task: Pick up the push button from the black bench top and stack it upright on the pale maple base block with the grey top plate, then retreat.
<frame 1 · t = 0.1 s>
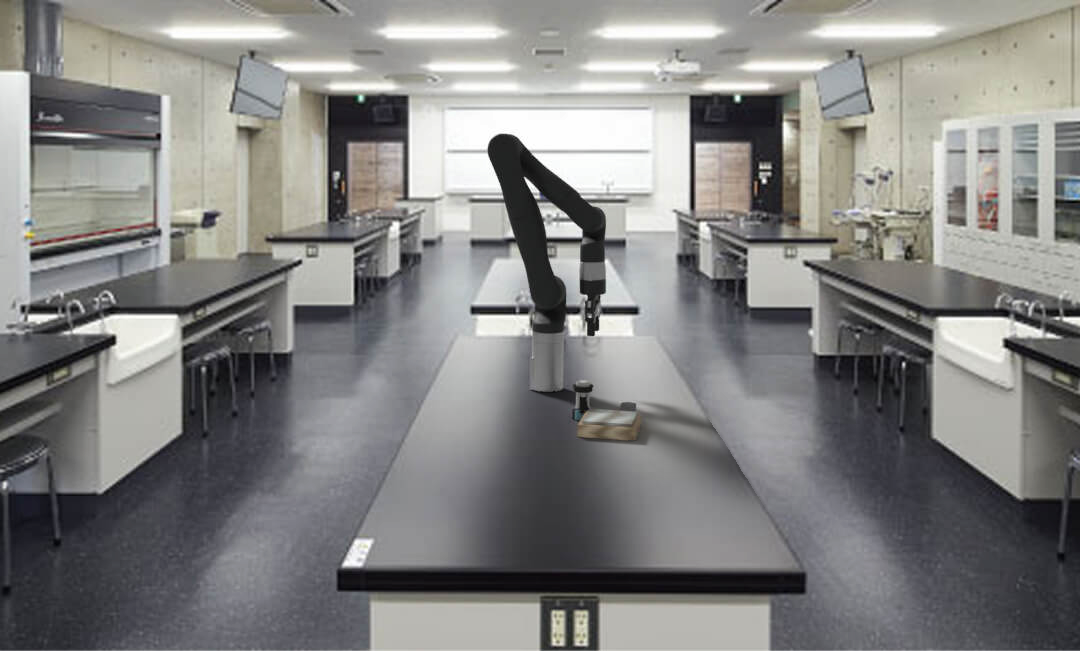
hand: (593, 333, 276), 17 cm above the table, tool pointing down, fingers open, 8 cm apart
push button: (584, 419, 249), on the table
rubber stopper: (628, 418, 250), on the table
base block: (609, 431, 238), on the table
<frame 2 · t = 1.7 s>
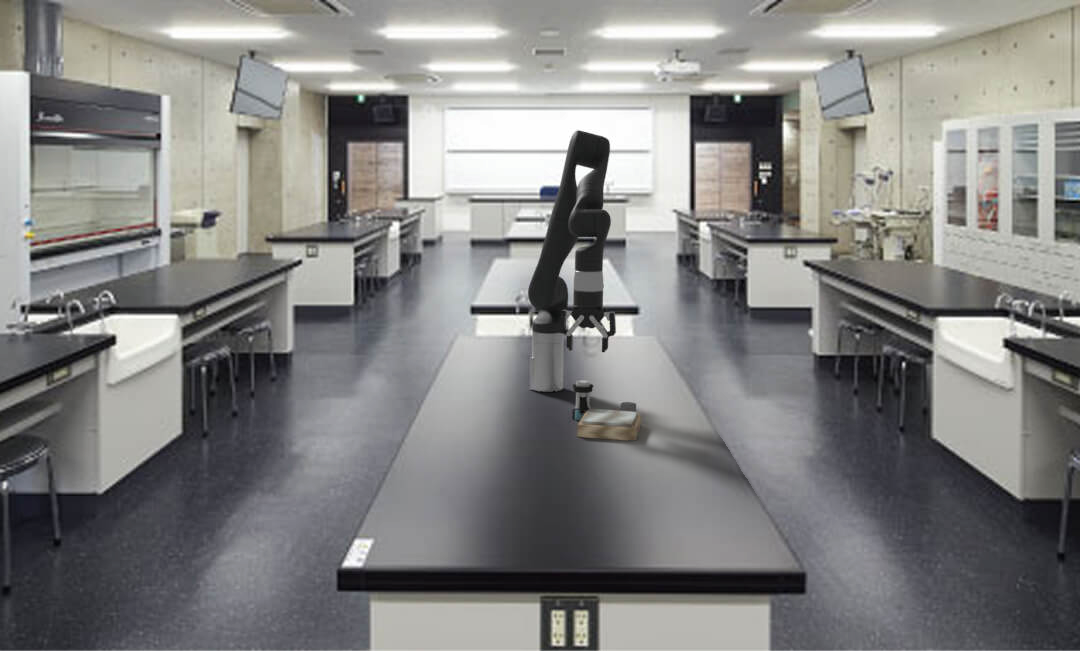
hand: (587, 351, 247), 18 cm above the table, tool pointing down, fingers open, 8 cm apart
nothing on the table moved.
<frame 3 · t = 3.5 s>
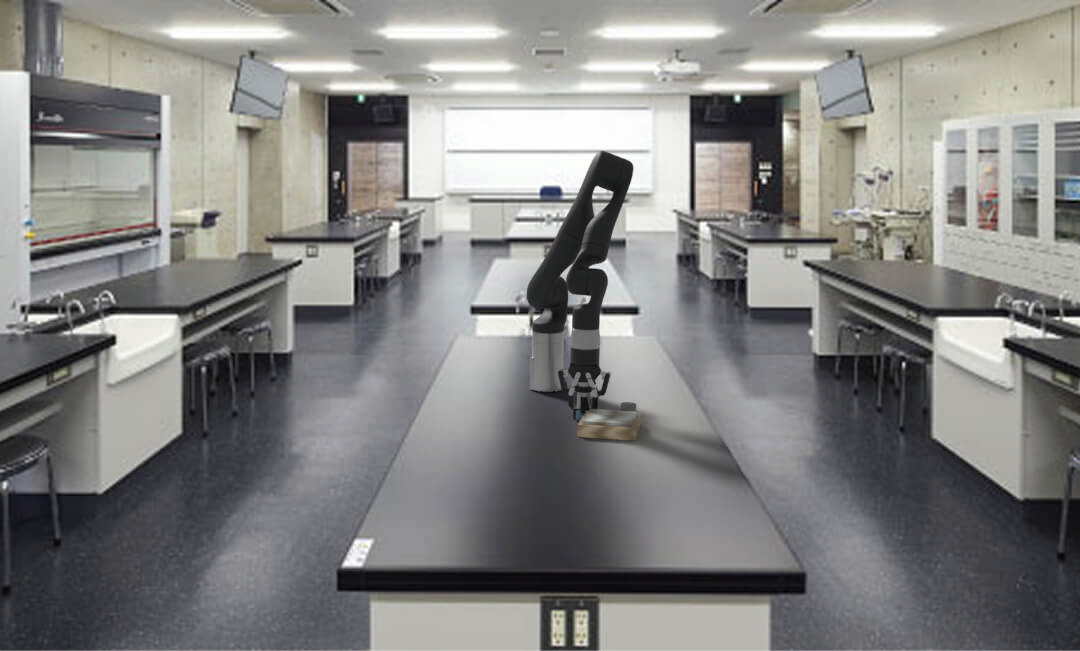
hand: (583, 409, 249), 2 cm above the table, tool pointing down, fingers closed on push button, 5 cm apart
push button: (585, 419, 249), on the table, touching gripper
everything else where it was.
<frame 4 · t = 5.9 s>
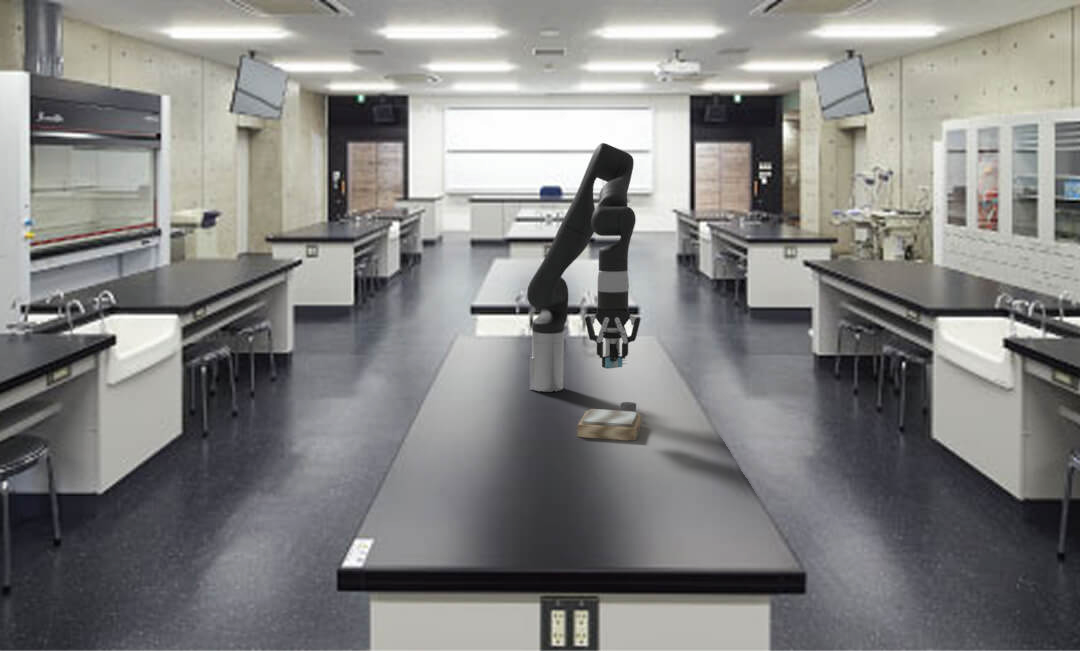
hand: (612, 357, 236), 18 cm above the table, tool pointing down, fingers closed on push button, 5 cm apart
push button: (614, 367, 237), point 16 cm above the table, touching gripper
everything else where it was.
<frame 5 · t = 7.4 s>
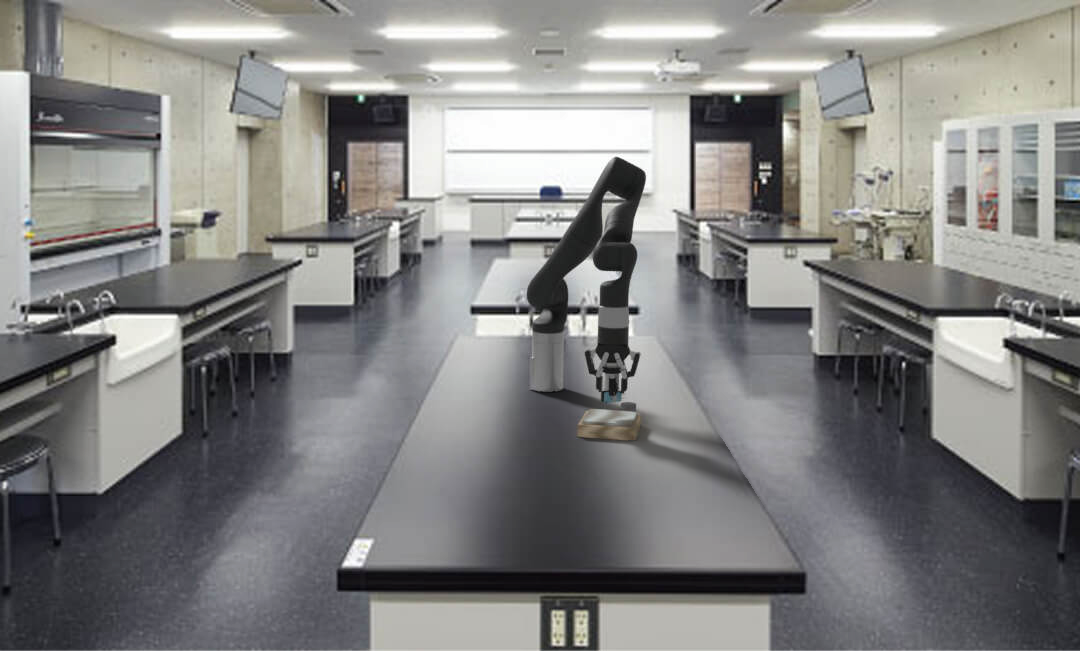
hand: (611, 391, 237), 10 cm above the table, tool pointing down, fingers closed on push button, 5 cm apart
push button: (613, 402, 237), point 7 cm above the table, touching gripper
everything else where it was.
when the fingers open (7 cm above the table, at t = 8.4 s): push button drops 1 cm, resting on base block.
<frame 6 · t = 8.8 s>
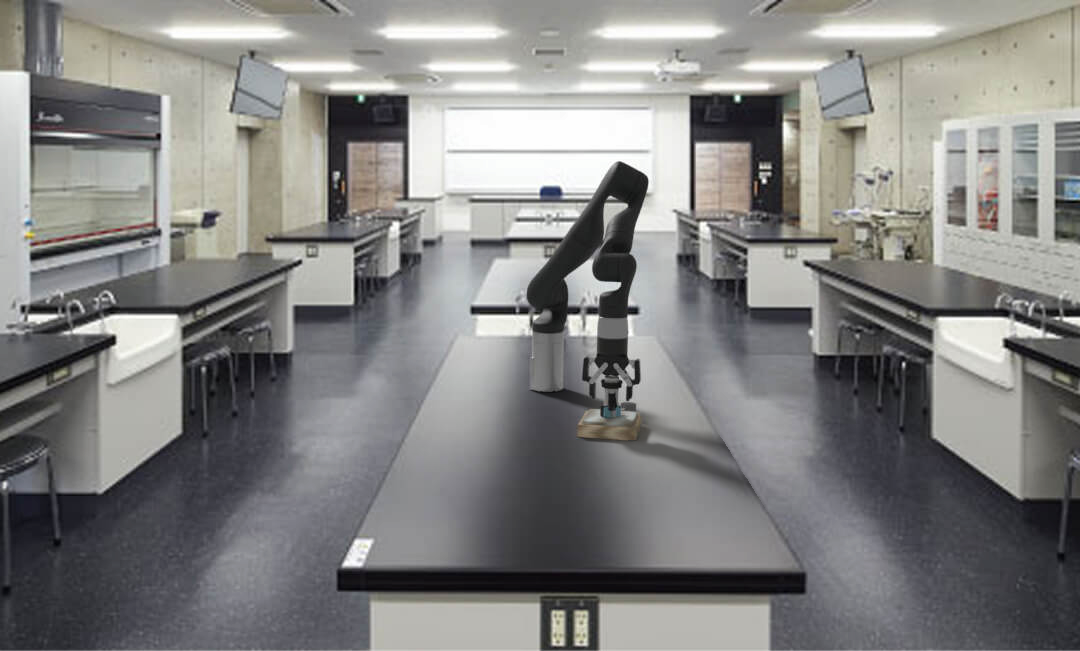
hand: (610, 399, 237), 8 cm above the table, tool pointing down, fingers open, 8 cm apart
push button: (613, 417, 238), point 4 cm above the table, touching base block
everything else where it was.
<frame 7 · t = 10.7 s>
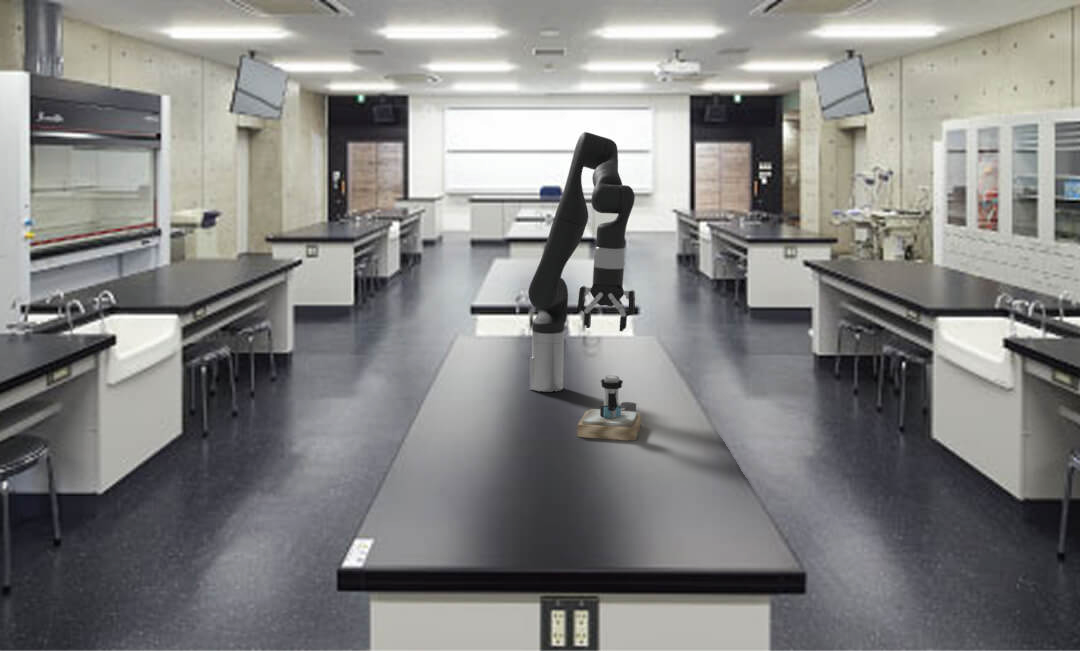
hand: (604, 329, 242), 24 cm above the table, tool pointing down, fingers open, 8 cm apart
nothing on the table moved.
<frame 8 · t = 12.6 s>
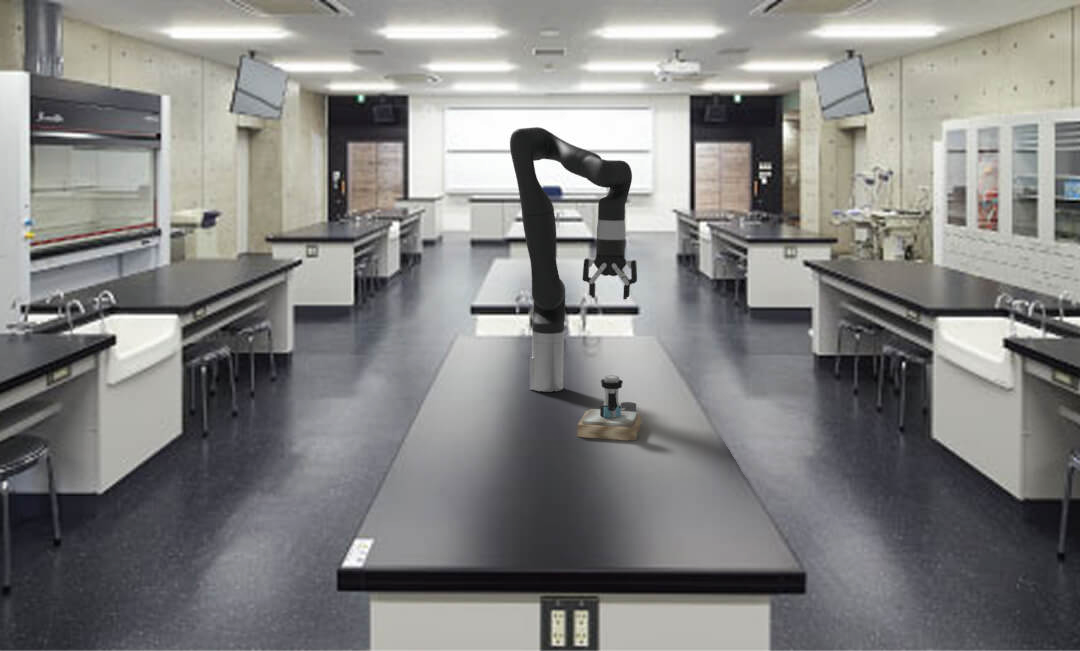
hand: (609, 298, 255), 30 cm above the table, tool pointing down, fingers open, 8 cm apart
nothing on the table moved.
at the end: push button inside the target area on the base block (0.7 cm from its centre), point 3.6 cm above the base block's base; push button tilted 0°; the gripper is holding nothing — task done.
